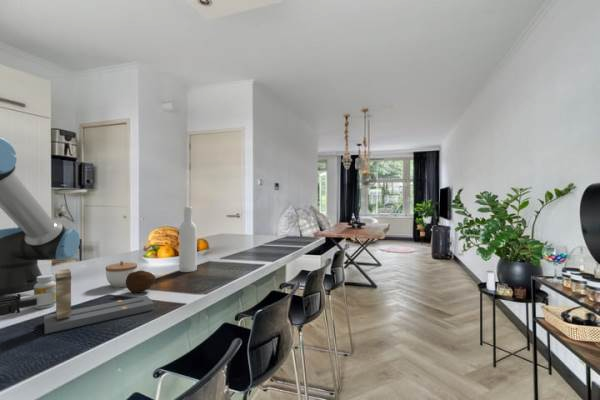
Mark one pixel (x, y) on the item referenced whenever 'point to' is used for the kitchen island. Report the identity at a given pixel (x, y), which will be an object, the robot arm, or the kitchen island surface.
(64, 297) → the fader tab
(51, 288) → the supplement bottle
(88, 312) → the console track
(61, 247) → the robot arm
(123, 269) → the lidded jar
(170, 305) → the kitchen island surface
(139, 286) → the potato
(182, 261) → the bottle
